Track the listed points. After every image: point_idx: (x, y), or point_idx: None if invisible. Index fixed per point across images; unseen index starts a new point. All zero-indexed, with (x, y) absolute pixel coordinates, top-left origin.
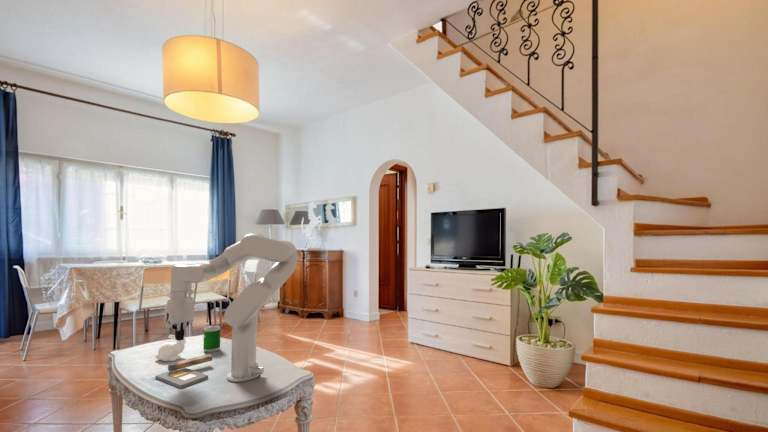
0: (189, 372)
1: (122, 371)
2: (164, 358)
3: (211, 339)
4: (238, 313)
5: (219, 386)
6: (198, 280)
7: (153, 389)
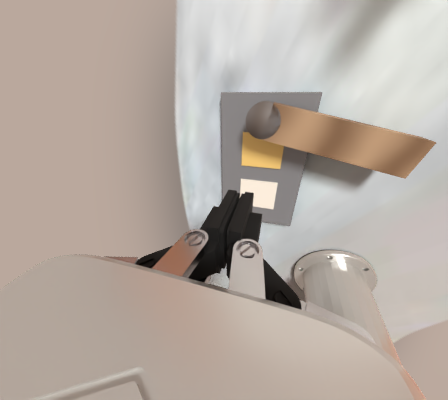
0: (286, 167)
1: None
2: None
3: None
4: None
5: (267, 262)
6: None
7: (190, 163)
